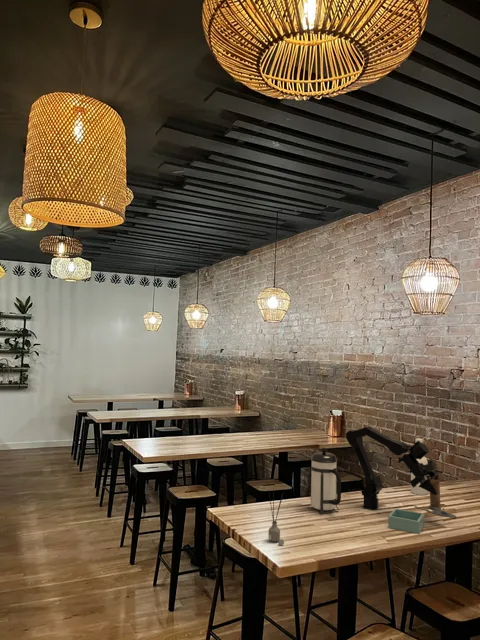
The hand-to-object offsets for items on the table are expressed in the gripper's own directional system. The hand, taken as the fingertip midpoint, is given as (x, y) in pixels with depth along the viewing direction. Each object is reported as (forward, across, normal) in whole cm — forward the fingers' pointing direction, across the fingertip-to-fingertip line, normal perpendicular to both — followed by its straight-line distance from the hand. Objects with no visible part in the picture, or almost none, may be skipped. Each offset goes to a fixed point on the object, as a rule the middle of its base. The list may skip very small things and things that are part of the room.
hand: (437, 494), depth 220 cm
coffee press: (-23, -22, +42) cm, 52 cm away
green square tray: (+3, -13, +16) cm, 21 cm away
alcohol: (-10, +44, +29) cm, 54 cm away
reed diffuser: (-17, -69, +36) cm, 80 cm away
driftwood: (+5, +18, +16) cm, 24 cm away
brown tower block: (+4, 0, +5) cm, 7 cm away
